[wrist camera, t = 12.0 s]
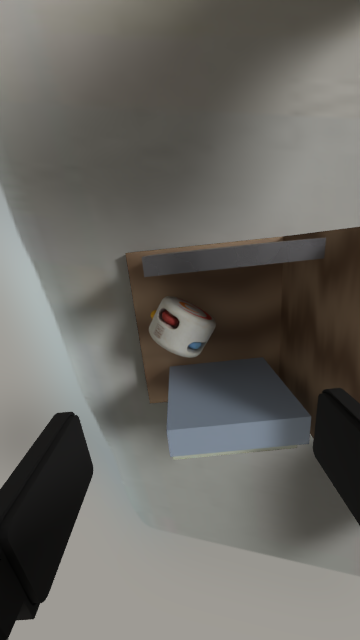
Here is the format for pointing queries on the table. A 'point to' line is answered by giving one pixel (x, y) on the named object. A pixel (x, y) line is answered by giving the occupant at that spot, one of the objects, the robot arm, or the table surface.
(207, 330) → the roller toy
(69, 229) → the table surface
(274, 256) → the bookend
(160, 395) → the shelf
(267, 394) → the standing books
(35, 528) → the robot arm
